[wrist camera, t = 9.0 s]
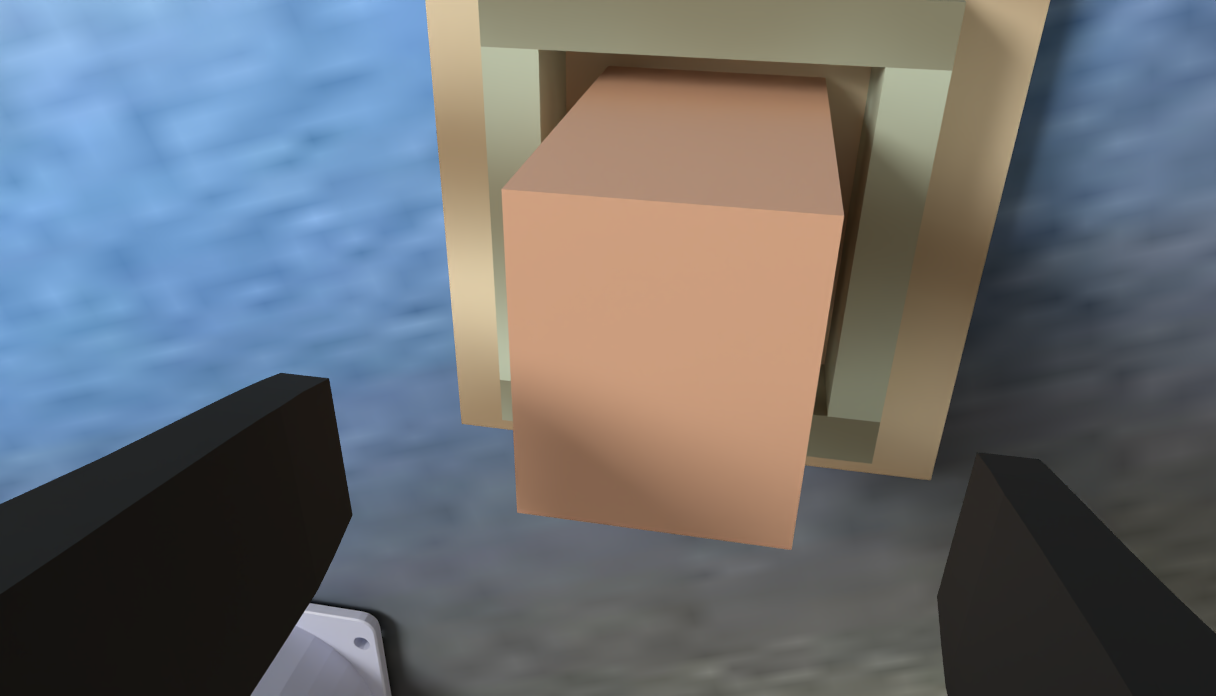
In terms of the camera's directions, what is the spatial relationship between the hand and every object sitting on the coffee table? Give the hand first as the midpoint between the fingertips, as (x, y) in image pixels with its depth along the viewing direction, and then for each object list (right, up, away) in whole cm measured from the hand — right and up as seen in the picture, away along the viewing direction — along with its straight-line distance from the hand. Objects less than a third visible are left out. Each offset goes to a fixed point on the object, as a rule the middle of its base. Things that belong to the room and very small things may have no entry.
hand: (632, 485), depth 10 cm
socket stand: (+2, +5, +8) cm, 10 cm away
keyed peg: (+2, +5, +8) cm, 9 cm away
